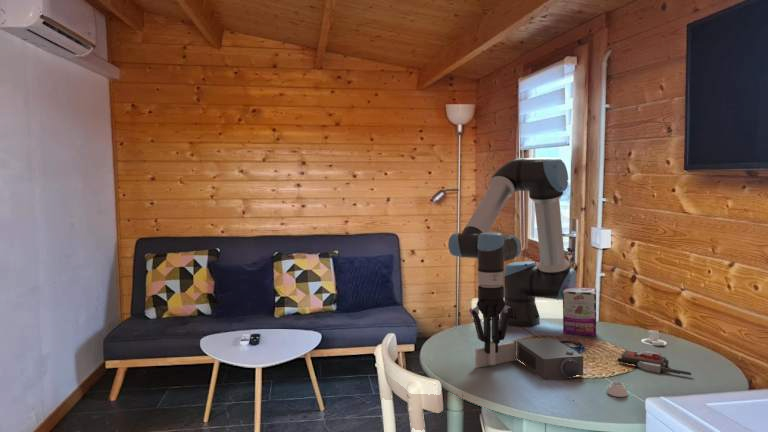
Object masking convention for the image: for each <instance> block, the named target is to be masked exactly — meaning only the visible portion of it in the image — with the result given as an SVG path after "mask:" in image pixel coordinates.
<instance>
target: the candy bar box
mask: <svg viewBox="0 0 768 432" xmlns="http://www.w3.org/2000/svg"><path fill="white" fill-rule="evenodd" d="M562 329H563V331H562V332H563V334H569V335H580V336H581V335H582V336H593V337H595V336H596V335H597V288H596V287H594V288H593V287H579V286H575V287H564V289H563V300H562Z"/></svg>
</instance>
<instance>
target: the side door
mask: <svg viewBox="0 0 768 432" xmlns="http://www.w3.org/2000/svg"><path fill="white" fill-rule="evenodd" d="M484 348H485V347H484V346H482V347H477V348H475V351H474V352H475V355H474V356H475V357H474V360H475V363H474V364H475V365H474V366H475V368H476V369H477V368H482V367H486V366H487V367H488V366H491V365H490V364H489V363H488V362H487V353H485V351H484ZM515 359H516V360H517V340H514V341H511V342H510V341H509V342H505V343H498V353H495V365H497V364H502V363H507V362H512V361H513V362H514V361H516V360H515Z"/></svg>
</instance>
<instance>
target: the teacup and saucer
mask: <svg viewBox="0 0 768 432" xmlns="http://www.w3.org/2000/svg"><path fill="white" fill-rule="evenodd" d="M659 334H660V332H659V330H656V329H655V330H654V329H651V330H648V338H642V339H641V340H640V341H641V343H643V344H645V345H650V346H659V347H660V346H666V345H668V343H667V341H666V340H663V339H659V336H660V335H659ZM647 340H649V341H648V342H650V343H648V342H646V341H647Z"/></svg>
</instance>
